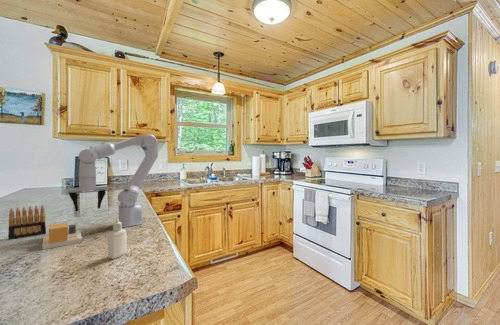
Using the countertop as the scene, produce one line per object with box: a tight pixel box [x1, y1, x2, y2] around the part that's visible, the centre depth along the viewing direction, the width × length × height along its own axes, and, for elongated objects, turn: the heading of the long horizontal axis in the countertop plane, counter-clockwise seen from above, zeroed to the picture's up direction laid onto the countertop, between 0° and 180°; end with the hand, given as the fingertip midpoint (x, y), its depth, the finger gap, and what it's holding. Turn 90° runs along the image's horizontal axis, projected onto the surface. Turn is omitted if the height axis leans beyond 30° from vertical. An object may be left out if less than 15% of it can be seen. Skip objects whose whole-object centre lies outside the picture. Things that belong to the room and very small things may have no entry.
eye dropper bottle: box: [107, 218, 128, 260], centre depth 73 cm, size 4×6×12 cm
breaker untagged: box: [68, 224, 77, 234], centre depth 90 cm, size 2×3×3 cm, turn 40°
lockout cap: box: [48, 222, 68, 244], centre depth 82 cm, size 5×6×5 cm
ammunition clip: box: [7, 204, 47, 241], centre depth 90 cm, size 11×2×12 cm, turn 129°
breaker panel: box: [41, 229, 83, 251], centre depth 86 cm, size 11×13×2 cm
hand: (88, 209), depth 96 cm, fingers open, 7 cm apart
